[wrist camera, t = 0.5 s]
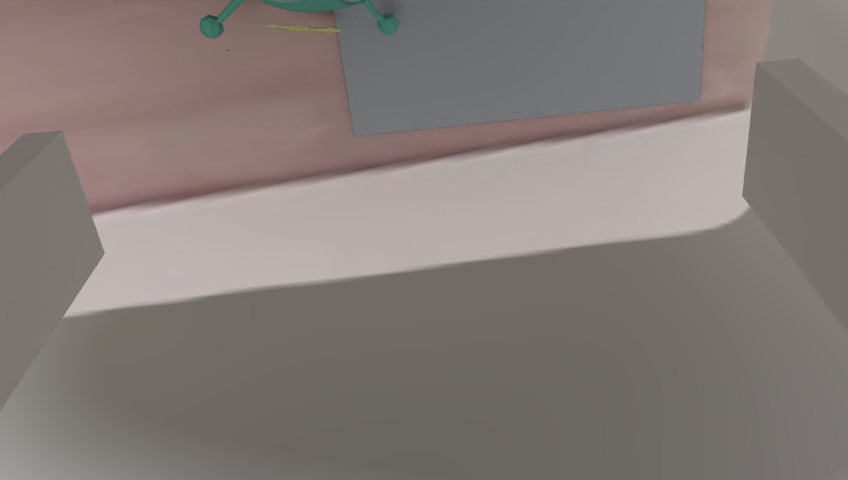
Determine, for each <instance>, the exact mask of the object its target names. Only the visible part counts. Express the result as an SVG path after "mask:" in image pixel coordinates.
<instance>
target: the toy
mask: <svg viewBox="0 0 848 480" xmlns="http://www.w3.org/2000/svg"><path fill="white" fill-rule="evenodd" d="M244 1H245V0H232V1H231V2H230V3H229V4H228V5H227V7H226V8H225V9H224V10H223V11H222V12H221V13H220V15H219V16H218V17H215V16H211V15H207V16H205V17H204V18H202V19H201V22H200V29H201V32H202V33H203V34H204V35H205V36H206V37H209V38H213V39H215V38H216V37H218V36H220V35H221V34H222V32H223V31H224V28H223V25H222V22H223V21H224V20H225V19H227V18H228V17H229V16H230V15H231V13H232V12H233V11H234V10H235V9H236V8H237V7H238V6H239V5H240V4H241V3H243V2H244ZM259 1H261V2H264V3H266V4H269V5H272V6H275V7H278V8H281V9H286V10H291V11H300V12H323V11H334V10H339V9H344V8H349V7H352V6H355V5H358V4H361V3H363V4H364V5H365V6H366V7H367V9H368V10H369V11H370V12H371V13H372V14H373V15H374V16H375V17H376V18H377V19H378V20H379V21H378V23H377V25H378V29H379V30H380V31H381V33H383V34H385V35H393V34H394V33H395V32H396V31H397V30H398V26H399V21H398V19H397V17H395V16H394V15H392V14H391V13H388V14H385V15H383V16H382V14H381V13H380V12H379V11H378V10H377V9H376V7H375V6H374V5H373V4H372V2H371V0H259ZM355 24H357V22H356V23H355ZM262 26H266V27H275V28H281V29H286V30H291V31H310V32H314V31H321V32H320V33H336V32H340V31H341V30H336V28H310V27H309V26H292V25H264V24H263V25H262ZM361 35H365V34H361ZM226 51H229V50H226Z"/></svg>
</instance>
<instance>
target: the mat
mask: <svg viewBox="0 0 848 480" xmlns="http://www.w3.org/2000/svg"><path fill="white" fill-rule="evenodd" d="M371 2H372V4H373V5H374V6H375V7H376V9H377V10H378V11H379V12H380V13H381V14H382V16H383V15H385V14H388V13H391V14H392V15H394V16H395V17H397V19H398V21H399V26H398V30H397V31H396V32H395V33H394V34H393V35H385V34H383V33H381V31H380V30H379V29H378V25H377V23H378V21H379V20H378V19H377V18H376V17H375V16H374V15H373V14H372V13H371V12H370V11H369V10H368V9H367V7H366V6H365V5H364V4H363V3H361V4H358V5H355V6H352V7H349V8H344V9H339V10H334V14H335V21H336V27H337V30H341V31H340V32H337V33H338V39H339V45H340V52H341V58H342V64H343V70H344V76H345V83H346V89H347V95H348V101H349V107H350V114H351V120H352V126H353V132H354V136H362V135H372V134H382V133H391V132H401V131H411V130H421V129H430V128H440V127H450V126H459V125H469V124H479V123H488V122H498V121H508V120H518V119H527V118H537V117H547V116H556V115H566V114H576V113H585V112H595V111H605V110H615V109H624V108H634V107H644V106H653V105H663V104H673V103H682V102H692V101H700V85H701V68H702V51H703V33H704V16H705V0H371ZM356 22H357V24H355V23H356ZM361 34H365V35H361Z"/></svg>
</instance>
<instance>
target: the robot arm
mask: <svg viewBox="0 0 848 480" xmlns="http://www.w3.org/2000/svg"><path fill="white" fill-rule="evenodd" d="M742 196H743V197H744V199H745V200H746V201H747V203H748V204H749V205H750V206H751V208H752V209H753V210H754V212H755V213H756V214H757V216H758V217H759V218H760V220H761V221H762V222H763V223H764V225H765V226H766V227H767V229H768V230H769V231H770V232H771V234H772V235H773V237H774V238H775V239H776V240H777V242H778V243H779V244H780V246H781V247H782V248H783V250H784V251H785V252H786V254H787V255H788V256H789V257H790V259H791V260H792V261H793V263H794V264H795V265H796V267H797V268H798V269H799V271H800V272H801V273H802V274H803V276H804V277H805V278H806V280H807V281H808V282H809V284H810V285H811V286H812V288H813V289H814V290H815V292H816V293H817V294H818V295H819V297H820V298H821V299H822V301H823V302H824V303H825V305H826V306H827V307H828V309H829V310H830V311H831V312H832V314H833V315H834V316H835V318H836V319H837V320H838V321H839V323H840V324H841V326H842V327H843V328H844V329H845V331H846V332H847V333H848V95H847V94H846V93H844V92H843V91H842V90H840V89H839V88H837V87H836V86H835V85H834V84H832V83H831V82H830V81H828V80H827V79H825V78H824V77H823V76H822V75H820V74H819V73H817V72H816V71H815V70H814V69H812V68H811V67H810V66H808V65H807V64H806V63H804V62H803V61H802V60H800V59H799V58H797V59H788V60H777V61H766V62H756V71H755V80H754V90H753V99H752V109H751V118H750V128H749V137H748V147H747V156H746V166H745V175H744V185H743V194H742ZM104 254H105V253H104V250H103V247H102V244H101V241H100V239H99V236H98V233H97V230H96V227H95V224H94V221H93V218H92V215H91V213H90V210H89V207H88V204H87V201H86V198H85V195H84V192H83V190H82V187H81V184H80V181H79V178H78V175H77V172H76V169H75V166H74V164H73V161H72V158H71V155H70V152H69V149H68V146H67V143H66V140H65V138H64V135H63V132H62V131H53V132H43V133H33V134H23V135H22V136H21V137H20V138H19V139H18V140H17V141H15V142H14V143H13V144H12V145H11V146H10V147H9V148H8V149H7V150H5V151H4V152H3V153H2V154H1V155H0V411H1V409H2V408H3V406H4V405H5V403H6V402H7V400H8V398H9V397H10V396H11V394H12V392H13V391H14V390H15V388H16V386H17V385H18V383H19V382H20V380H21V379H22V377H23V376H24V374H25V373H26V371H27V370H28V368H29V367H30V365H31V364H32V362H33V361H34V359H35V358H36V356H37V355H38V353H39V352H40V350H41V349H42V347H43V346H44V344H45V343H46V341H47V340H48V338H49V337H50V335H51V334H52V332H53V330H54V329H55V327H56V326H57V325H58V323H59V322H60V320H61V319H62V317H63V316H64V314H65V313H66V311H67V310H68V308H69V307H70V305H71V304H72V302H73V301H74V299H75V297H76V296H77V294H78V293H79V291H80V290H81V288H82V287H83V285H84V284H85V282H86V281H87V279H88V278H89V276H90V275H91V273H92V272H93V270H94V269H95V267H96V266H97V264H98V263H99V261H100V260H101V258H102V257H103V255H104Z"/></svg>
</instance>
